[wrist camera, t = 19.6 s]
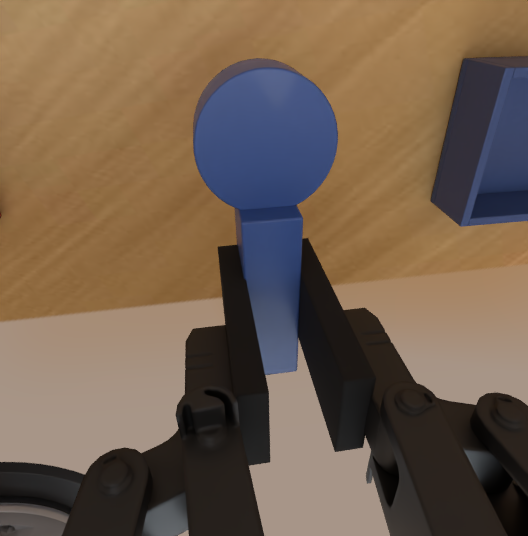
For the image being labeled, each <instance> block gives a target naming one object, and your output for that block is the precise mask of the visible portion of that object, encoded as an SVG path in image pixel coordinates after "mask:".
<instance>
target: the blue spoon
mask: <svg viewBox="0 0 528 536" xmlns="http://www.w3.org/2000/svg"><path fill="white" fill-rule="evenodd" d="M337 143H338V131H337V123H336V119H335V115H334V112H333V110H332V107H331V105H330V103H329V101H328V100H327V98H326V96H325V95H324V94H323V93H322V91H321V90H320V89H319V88H318V87H317V86H316V85H315V84H314V83H313V82H311V81H310V80H309V79H307V78H306V77H304V76H303V75H302V74H300V73H299V72H297V71H296V70H295V69H293V68H292V67H290V66H288V65H286V64H284V63H281V62H279V61H276V60H271V59H260V58H256V59H248V60H244V61H240V62H237V63H235V64H233V65H230V66H229V67H227V68H225V69H224V70H222V71H221V72H220V73H218V74H217V75H216V76H215V77H214V78H213V79H212V80H211V81H210V82H209V83H208V85H207V86H206V88H205V89H204V91H203V92H202V94H201V96H200V98H199V101H198V103H197V106H196V110H195V114H194V122H193V146H194V156H195V161H196V164H197V167H198V170H199V173H200V175H201V177H202V179H203V180H204V182H205V183H206V185H207V186H208V188H209V189H210V190H211V191H212V192H213V193H214V194H215V195H216V196H217V197H218V198H219V199H221V200H222V201H224V202H225V203H227V204H228V205H230V206H232V207H234V208H235V221H236V236H237V245H238V249H239V255H240V260H241V266H242V271H243V277H244V279H245V280H246V282H247V287H248V292H249V297H250V302H251V307H252V312H253V317H254V322H255V327H256V332H257V337H258V342H259V347H260V352H261V357H262V362H263V367H264V371H265V375H270V374H277V373H285V372H293V371H296V370H297V359H298V331H299V305H300V279H301V259H302V234H303V217H302V215H301V213H300V211H299V209H298V207H297V204H299V203H301V202H302V201H304V200H305V199H307V198H308V197H309V196H310V195H311V194H313V193H314V192H315V191H316V190H317V188H318V187H319V186H320V185H321V184H322V182H323V181H324V180H325V178H326V176H327V175H328V173H329V171H330V169H331V167H332V164H333V162H334V158H335V155H336V150H337Z"/></svg>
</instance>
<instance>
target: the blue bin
mask: <svg viewBox="0 0 528 536" xmlns="http://www.w3.org/2000/svg"><path fill="white" fill-rule="evenodd" d="M431 202H432V203H434V204H435V205H436V206H437V207H438V208H439V209H441V210H442V211H443V212H444V213H445V214H446V215H448V216H449V217H450V218H451V219H452V220H454V221H455V222H456V223H457V224H458V225H459V226H472V225H484V224H495V223H507V222H518V221H528V56H514V57H487V58H464V59H463V63H462V67H461V72H460V76H459V80H458V85H457V89H456V93H455V98H454V102H453V106H452V111H451V115H450V119H449V124H448V128H447V132H446V137H445V141H444V145H443V149H442V154H441V158H440V162H439V167H438V171H437V175H436V180H435V184H434V188H433V193H432V197H431Z"/></svg>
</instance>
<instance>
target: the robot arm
mask: <svg viewBox="0 0 528 536" xmlns="http://www.w3.org/2000/svg"><path fill="white" fill-rule="evenodd" d="M218 255H219V265H220V275H221V286H222V296H223V306H224V314H225V324H226V325H223V326H214V327H205V328H196V329H193V330H192V331H191V333H190V335H189V337H188V339H187V340H186V359H185V368H186V370H185V395H184V396H183V397H182V399H181V400H180V402H179V404H178V405H177V411H176V418H177V422H178V427H179V429H178V431H177V432H176V433H175V434H174V435H173V436H172V437H171V438H170V439H169V440H168V441H166V442H164V443H162V444H160V445H159V446H157V447H154V448H152V449H150V450H148V451H146V452H143V453H140V452H138V451H137V450H135V449H129V448H121V449H115V450H112V451H110V452H108V453H106V454H104V455H102V456H100V457H99V458H98V459H97V460H96V461H95V462H94V463H93V464H92V465H91V466H90V468H89V469H88V471H87V473H86V474H85V476H84V478H83V480H82V483H81V486H80V488H79V491H78V494H77V496H76V499H75V502H74V504H73V507H72V509H71V508H69V507H67V506H65V505H63V504H60V503H57V502H53V501H50V500H45V499H40V498H34V497H24V496H0V536H178V535H179V534H181V533H183V532H185V531H186V530H189V536H264V533H263V528H262V525H261V519H260V515H259V511H258V506H257V501H256V497H255V492H254V488H253V484H252V479H251V474H250V470H249V465H255V464H261V463H268V462H270V436H269V435H270V434H269V433H270V432H269V391H268V386H267V382H266V377H265V371H264V367H263V362H262V357H261V352H260V347H259V342H258V337H257V332H256V327H255V322H254V317H253V312H252V307H251V302H250V297H249V292H248V287H247V282H246V280H245V279H244V277H243V271H242V266H241V260H240V255H239V249H238V245H230V246H220V247H218ZM298 337H299V340H300V344H301V347H302V350H303V353H304V356H305V359H306V362H307V365H308V369H309V372H310V375H311V378H312V381H313V384H314V387H315V391H316V394H317V397H318V400H319V403H320V406H321V409H322V412H323V416H324V419H325V422H326V425H327V428H328V431H329V435H330V438H331V441H332V444H333V447H334V450H335V452H338V451H344V450H350V449H357V448H363V444H364V438H365V436H366V438H367V441H368V443H369V446H370V448H371V455H370V459H369V463H368V468H367V473H366V480H367V483H371V480H372V476H373V478H374V481H375V485H376V488H377V492H378V495H379V498H380V502H381V505H382V509H383V512H384V515H385V519H386V523H387V526H388V529H389V533H390V536H528V406H527V405H526V404H525V403H523V402H522V401H521V400H519V399H517V398H514V397H512V396H510V395H507V394H501V393H488V394H485V395H484V396H482V397H480V398H479V400H478V402H477V405H472V404H465V403H458V402H451V401H446V400H442V399H439V398H437V397H436V396H435V395H434V394H433V393H432V392H431V391H430V390H428V389H427V388H426V387H424V386H422V385H420V384H417V383H416V382H415V381H414V379H413V377H412V376H411V374H410V372H409V371H408V369H407V367H406V366H405V364H404V362H403V361H402V359H401V357H400V355H399V354H398V352H397V350H396V349H395V347H394V345H393V344H392V343H391V341H390V338H389V337H388V335H387V333H385V330H384V328H383V326H382V325H381V323H380V321H379V320H378V318H377V317H376V316H375V315H373V314H372V313H371V312H369V311H368V310H367V309H366V308H359V309H350V310H343V309H342V307H341V305H340V303H339V301H338V299H337V296H336V295H335V293H334V290H333V288H332V286H331V284H330V282H329V280H328V278H327V276H326V274H325V272H324V270H323V268H322V266H321V264H320V262H319V260H318V258H317V256H316V254H315V252H314V250H313V248H312V246H311V244H310V242H309V240H308V238H304V239H302V259H301V279H300V305H299V331H298Z"/></svg>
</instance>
